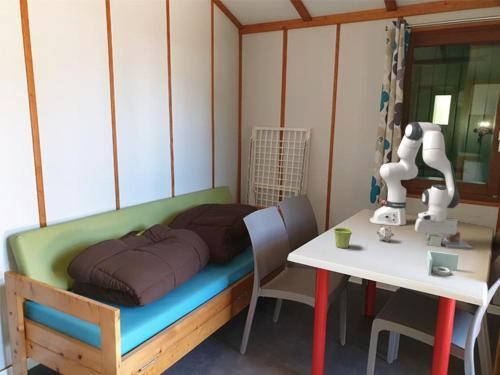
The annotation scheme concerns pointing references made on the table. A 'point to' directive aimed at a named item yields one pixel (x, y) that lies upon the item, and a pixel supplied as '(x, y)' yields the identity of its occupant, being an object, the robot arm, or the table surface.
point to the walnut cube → (453, 237)
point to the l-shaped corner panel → (441, 262)
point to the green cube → (434, 240)
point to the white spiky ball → (385, 233)
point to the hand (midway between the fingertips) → (434, 241)
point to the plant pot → (342, 237)
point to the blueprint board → (456, 244)
